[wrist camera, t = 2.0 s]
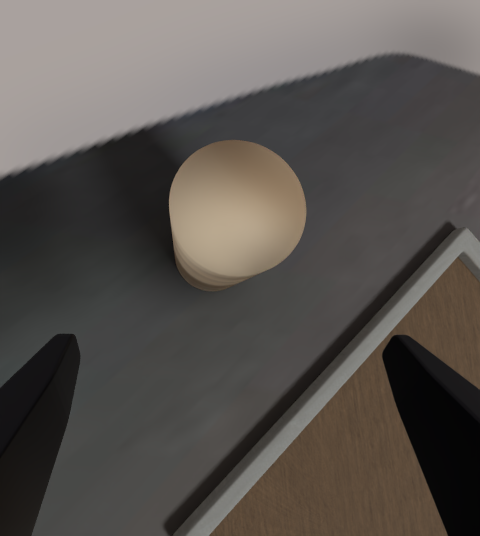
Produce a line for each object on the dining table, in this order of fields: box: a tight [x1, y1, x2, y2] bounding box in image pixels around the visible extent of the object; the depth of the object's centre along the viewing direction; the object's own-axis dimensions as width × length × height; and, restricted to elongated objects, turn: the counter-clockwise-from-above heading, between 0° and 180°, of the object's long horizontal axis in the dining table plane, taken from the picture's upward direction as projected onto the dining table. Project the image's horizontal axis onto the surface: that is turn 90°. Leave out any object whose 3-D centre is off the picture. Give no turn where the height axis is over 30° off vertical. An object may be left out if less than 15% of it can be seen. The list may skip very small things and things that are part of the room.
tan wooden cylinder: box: [169, 140, 306, 292], centre depth 16 cm, size 5×5×10 cm
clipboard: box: [173, 227, 480, 536], centre depth 21 cm, size 19×2×30 cm
